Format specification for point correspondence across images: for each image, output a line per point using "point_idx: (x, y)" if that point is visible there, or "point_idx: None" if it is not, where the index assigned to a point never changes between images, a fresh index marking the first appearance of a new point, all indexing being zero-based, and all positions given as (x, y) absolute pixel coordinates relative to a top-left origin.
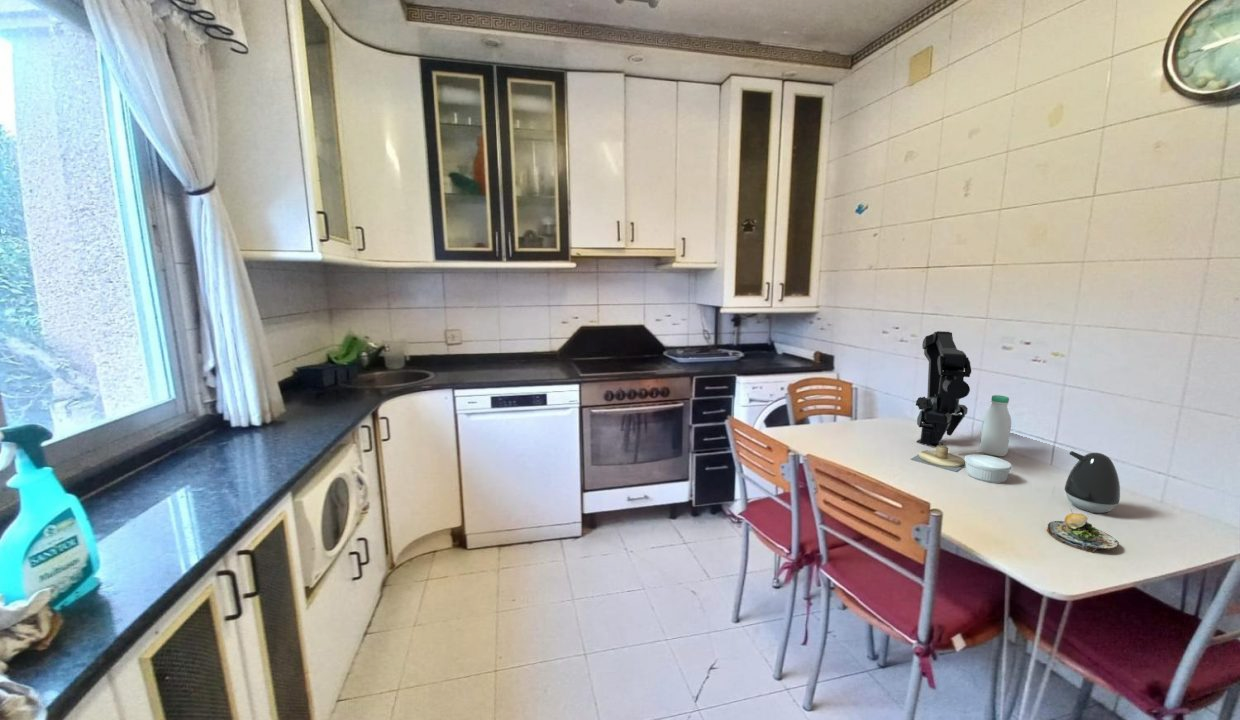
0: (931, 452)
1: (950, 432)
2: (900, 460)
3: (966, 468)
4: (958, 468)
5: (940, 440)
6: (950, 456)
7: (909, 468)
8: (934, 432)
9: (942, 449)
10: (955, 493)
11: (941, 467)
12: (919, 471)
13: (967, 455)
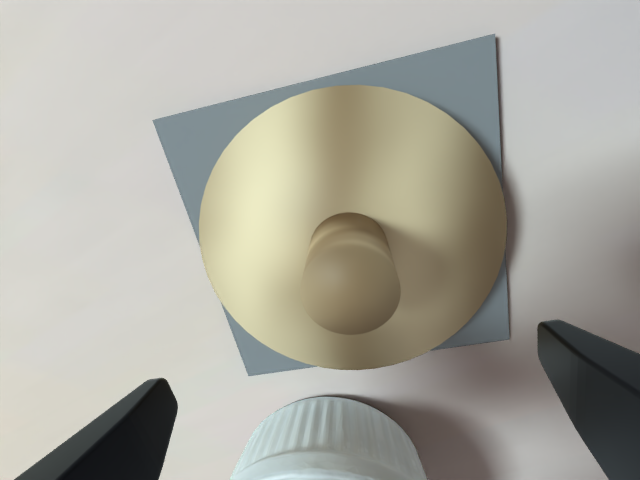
0: (390, 147)
1: (563, 390)
2: (60, 94)
3: (258, 437)
4: (301, 363)
5: (173, 417)
6: (432, 270)
7: (15, 225)
8: (29, 472)
9: (309, 309)
10: (20, 470)
11: (225, 308)
12: (45, 280)
13: (310, 477)
